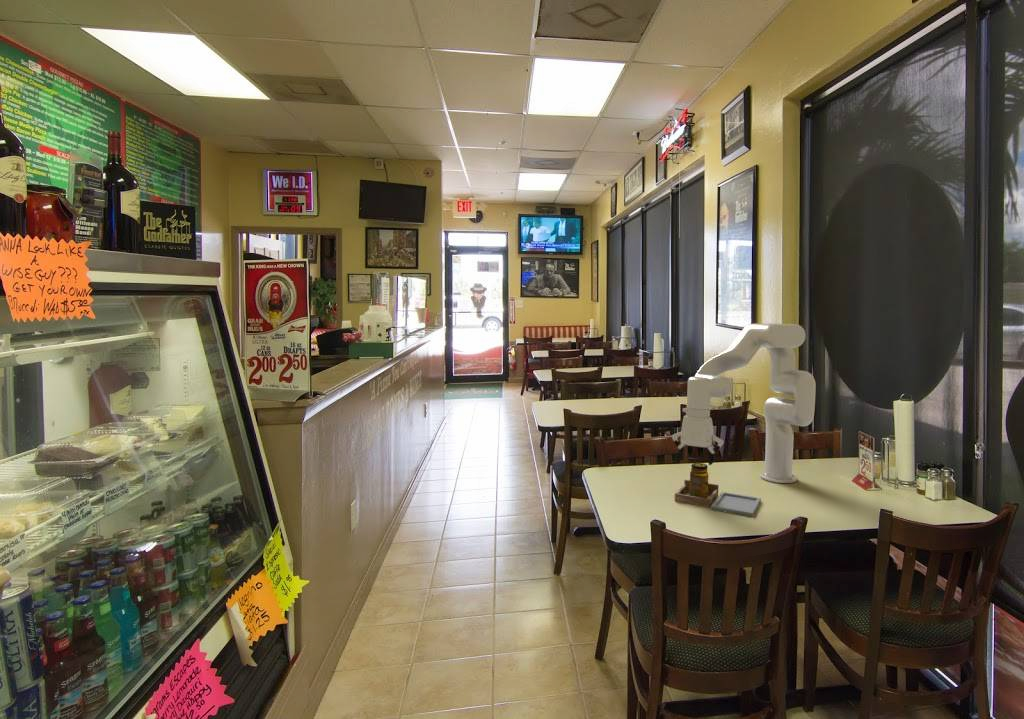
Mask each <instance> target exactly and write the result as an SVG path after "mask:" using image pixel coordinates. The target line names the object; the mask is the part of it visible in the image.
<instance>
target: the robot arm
mask: <svg viewBox="0 0 1024 719" xmlns="http://www.w3.org/2000/svg"><path fill="white" fill-rule="evenodd" d="M805 341H806V331H805V329H804V328H803V326H801V325H800V324H795V323H756V322H755V323H750V324H748V325H746V326H744V328H743V329H742V330H741V331H740V333H739V334H738V336H737V337H736V338H735V339H734V341H733V342H732V343H731V344H730V346H729V347H728V348H727V349H726V350H725V351H722V352H721V353H719V354H717V355H715V356H713V357H712V358H710V359H709V360H706V362H705V363H704V364H702V365H701V366H700V368H699V370H697V372H696V373H695V375H694V376H690V377H689V378H688V379H687V390H686V392H687V394H686V407H683V408H682V412H683V413H685V415H684V416H683V419H682V423H681V424H682V425H681V430H680V431H679V432H676V433H673V434H672V435H671V439H672V440H673V443H674V445H675V446H676V447H677V449H678V458H679V461H681V462H682V461H684V460H685V456H686V447H684V446H690V447H696V448H704V449H708V451H709V453H708V465H709V466H712V465H713V463H715V459H716V453H717V452H718V451H719V450H720V449H721V447H722V446H723V444H724V443H725V441H724V440H722V439H721V438H720V437H717V435H715V434H714V424H713V419H712V417H710V416H711V398H716V399H723V398H727V397H728V396H729V397H730V395H731V394H732V392H733V390H734V384H733V382H732V379H730V378H728V377H726V376H723V375H721V374H723V373H725V372H728V371H730V372H731V371H734V370H738V369H740V368H744V367H746V366H747V365H748V364H749V363H750V361H751V360H752V359H754V356H755V355H756V354H757V352H758V351H759V350H760V349H761V348H765V349H766V350H767V352H768V354H769V364H770V365H769V383H768V384H769V388H770V390H771V391H772V392H774V393H776V394H782V395H787V396H788V395H789V396H794V398H791V397H790V398H789V397H784V396H783V397H782V396H772V397H769V398H768V399H767V400H766V401H764V406H763V414H764V421H765V453H764V454H765V459H764V471H761V472H760V473H759V474H760V478H761V479H763V480H765V481H768V482H770V483H771V482H772V483H778V484H790V483H791V484H792V483H795V482H797V476H796V475H795V474H793V464H794V463H793V460H794V459H793V458H794V437H795V436H794V431H793V428H792V425H793V426H796V427H807V426H809V425H810V424H811V423H812V422H813V421H814V417H815V408H816V407H815V406H816V391H817V390H816V388H817V386H816V384H817V383H816V380H815V378H814V376H813V374H812V373H810V372H809V371H806V370H800V369H799V370H798V369H796V355H795V352H794V349H796V348H798V347H801V345H803V344H804V342H805ZM679 437H680V441H679V439H678V438H679ZM714 442H716V443H717V445H716V446H715V447H714Z"/></svg>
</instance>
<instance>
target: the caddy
mask: <svg viewBox="0 0 1024 719" xmlns="http://www.w3.org/2000/svg"><path fill="white" fill-rule="evenodd" d="M683 481H684V482H683V483H684V484H682V486H681V487H680V488H679V489H678V490H677V491H676V492H674V501H675V502H678V501H679V503H685V504H689V503H690V504H691V505H695V506H701V507H706V508H711V506H712V504H713V503H714V502H715V499H717V498H718V496H719V486H720V485H719V484H716V483H709V482H708V497H709V498H708V499H707V498H701V497H695V496H689V495H690V494H686V493H687V492H688V491H689V493H690V479H684V480H683Z"/></svg>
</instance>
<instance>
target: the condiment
mask: <svg viewBox="0 0 1024 719" xmlns="http://www.w3.org/2000/svg"><path fill="white" fill-rule="evenodd" d="M708 471H709V470H708V465H707V464H706V463H702V462H694V463H692V464H691V468H690V472H689V480H690V492H689V494H688V495H689V496H695V497H701V498H707V499H708V497H709V495H708V483H709V472H708Z"/></svg>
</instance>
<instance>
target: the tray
mask: <svg viewBox="0 0 1024 719" xmlns="http://www.w3.org/2000/svg"><path fill="white" fill-rule="evenodd" d="M760 501H762V498H761V497H757V496H751V495H750V496H749V495H744V494H739V493H734V492H733V493H732V492H725V491H721V492H720V494H718V497H717V498H716V500H715V501H714V502H713V503H712V505H711V506H710V508H711V510H712V511H718V510H719V511H718V512H723V511H726V512H725V513H729V512H731V513H730V514H734V513H736V514H735V515H740V514H742V515H741V516H745V515H748V516H747V517H750V516H753V517H754V515H755V513H756V511H757V510H758V508H757V507H759V506H758V505H760V504H761V502H760ZM759 503H760V504H759Z"/></svg>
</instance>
